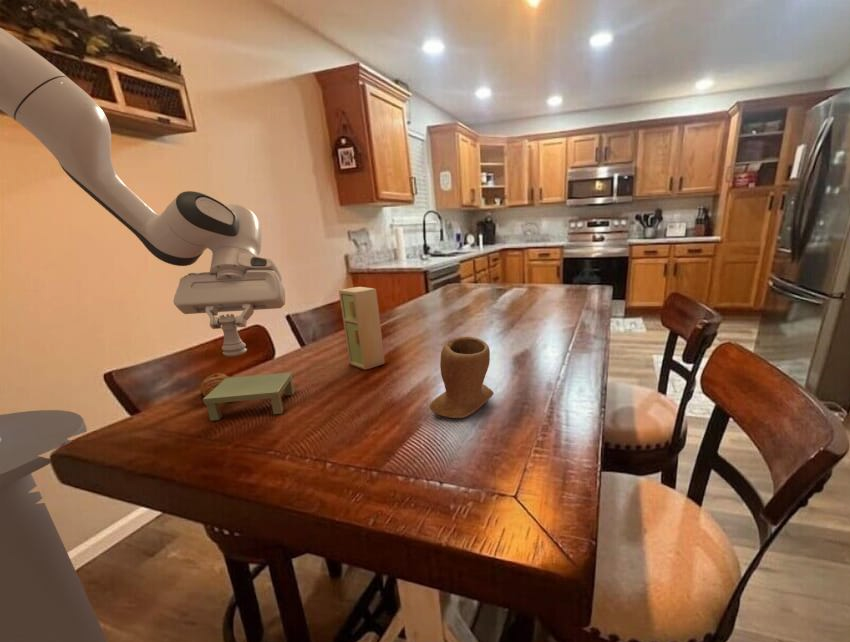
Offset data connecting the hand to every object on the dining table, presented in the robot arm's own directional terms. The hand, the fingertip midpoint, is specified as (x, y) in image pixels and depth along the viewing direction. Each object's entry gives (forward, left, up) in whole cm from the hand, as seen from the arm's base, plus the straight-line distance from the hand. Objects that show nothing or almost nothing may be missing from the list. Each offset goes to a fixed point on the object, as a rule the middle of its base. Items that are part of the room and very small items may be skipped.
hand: (228, 326), depth 81 cm
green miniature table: (+1, +2, -18) cm, 18 cm away
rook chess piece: (0, +1, -6) cm, 6 cm away
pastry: (-10, +12, -18) cm, 24 cm away
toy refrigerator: (+23, +23, -18) cm, 38 cm away
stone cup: (+46, -10, -18) cm, 51 cm away
